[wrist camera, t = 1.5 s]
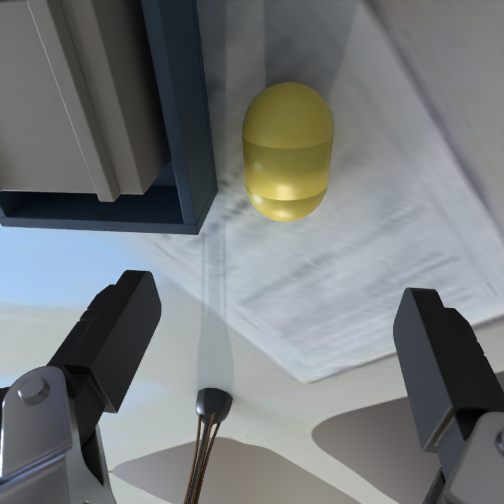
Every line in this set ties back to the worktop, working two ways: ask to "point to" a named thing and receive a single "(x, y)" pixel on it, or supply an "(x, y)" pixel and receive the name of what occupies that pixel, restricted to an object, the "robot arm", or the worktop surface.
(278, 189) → the yellow capsule
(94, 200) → the crate
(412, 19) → the worktop surface
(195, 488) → the wooden tabletop sculpture
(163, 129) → the block
